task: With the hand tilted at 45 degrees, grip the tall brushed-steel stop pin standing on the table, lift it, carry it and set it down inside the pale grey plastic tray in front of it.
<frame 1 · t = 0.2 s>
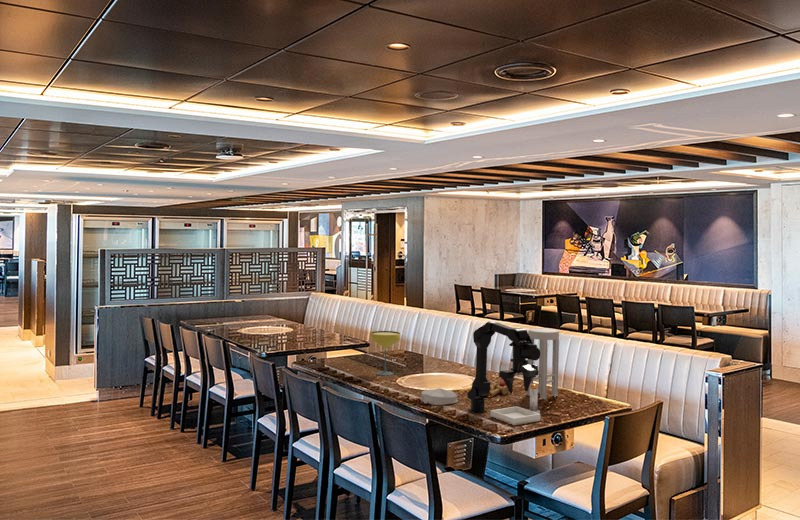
hand: (518, 392, 287), 15 cm above the table, tool pointing down, fingers open, 9 cm apart
kendama: (498, 395, 347), on the table
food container: (439, 401, 331), on the table
pin tray: (515, 418, 299), on the table
stop pin: (533, 412, 310), on the table
cocktail glass: (385, 374, 395), on the table
stool: (542, 396, 344), on the table
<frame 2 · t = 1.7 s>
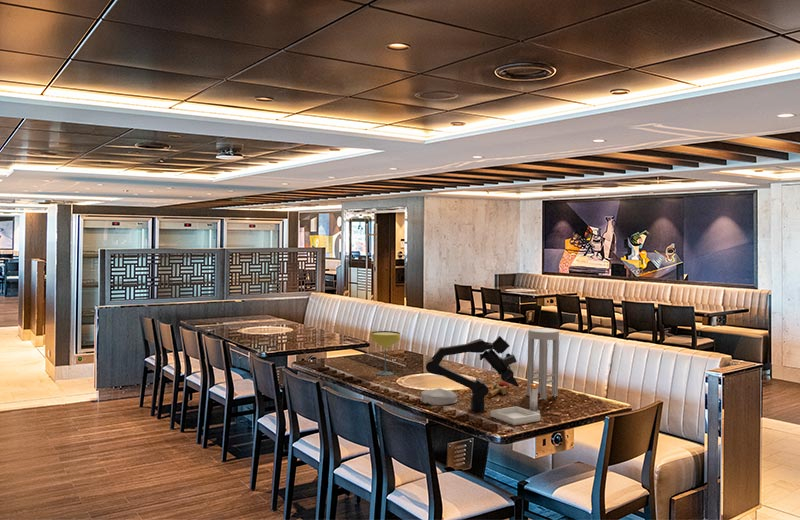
hand: (517, 384, 310), 13 cm above the table, tool tilted 45°, fingers open, 9 cm apart
nothing on the table moved.
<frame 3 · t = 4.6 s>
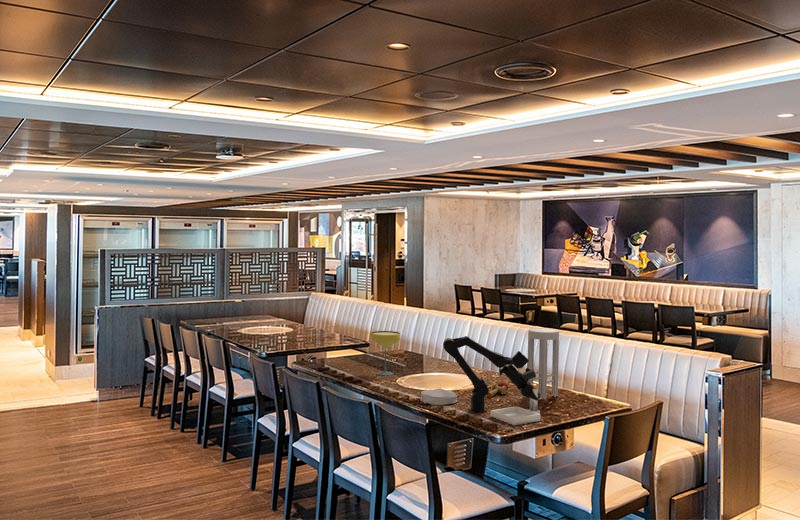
hand: (536, 398, 310), 7 cm above the table, tool tilted 45°, fingers closed on stop pin, 4 cm apart
stop pin: (533, 412, 310), on the table, touching gripper
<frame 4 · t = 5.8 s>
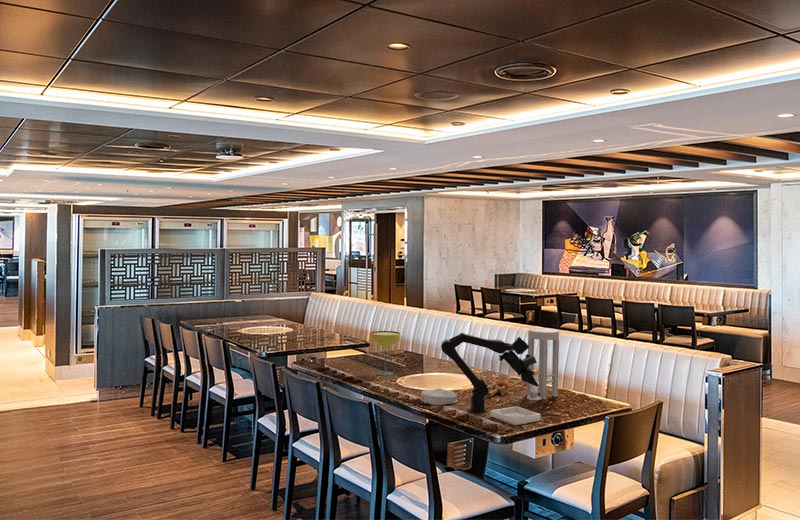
hand: (537, 385, 309), 13 cm above the table, tool tilted 45°, fingers closed on stop pin, 4 cm apart
stop pin: (533, 398, 310), point 7 cm above the table, touching gripper
when the fingers open (9 cm above the table, at t = 8.5 s): stop pin drops 1 cm, resting on pin tray.
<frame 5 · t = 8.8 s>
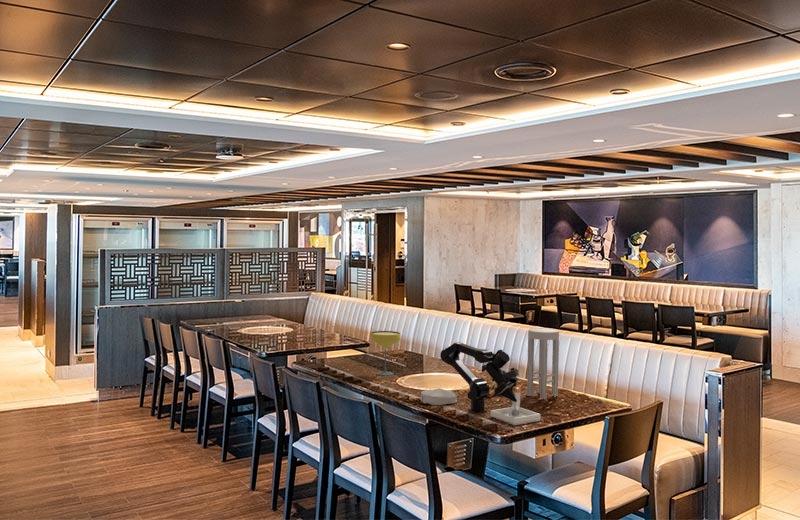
hand: (518, 399, 298), 9 cm above the table, tool tilted 45°, fingers open, 6 cm apart
stop pin: (515, 416, 299), point 1 cm above the table, touching pin tray
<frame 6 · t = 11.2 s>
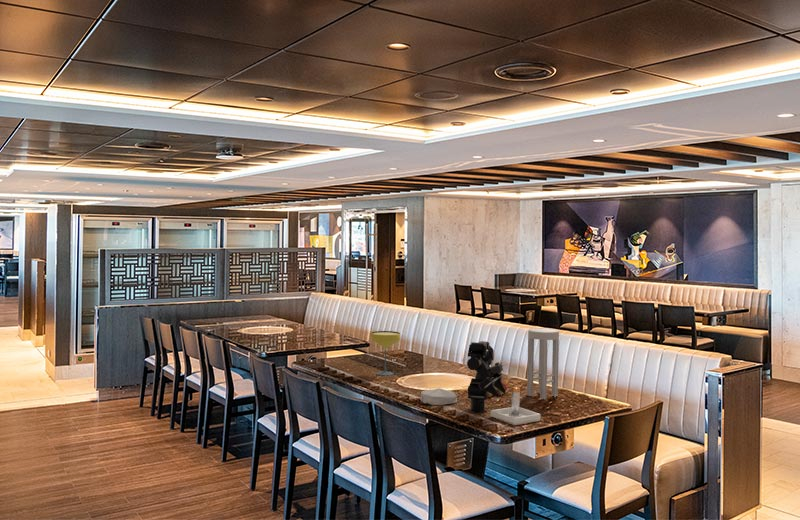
hand: (502, 394, 302), 10 cm above the table, tool tilted 45°, fingers open, 9 cm apart
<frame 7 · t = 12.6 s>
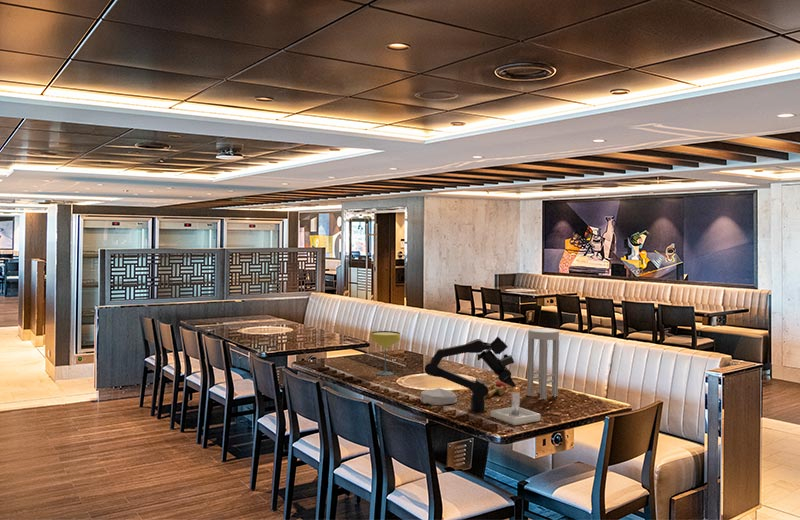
hand: (513, 385, 310), 13 cm above the table, tool tilted 45°, fingers open, 9 cm apart
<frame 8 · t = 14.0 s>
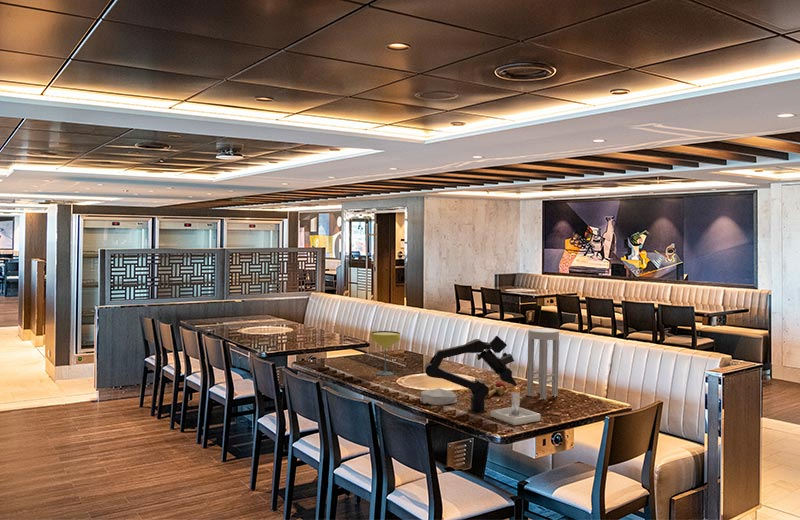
hand: (514, 383, 311), 14 cm above the table, tool tilted 45°, fingers open, 9 cm apart
at the end: stop pin inside the target area on the pin tray (0.1 cm from its centre), point 0.8 cm above the pin tray's base; the gripper is holding nothing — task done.
